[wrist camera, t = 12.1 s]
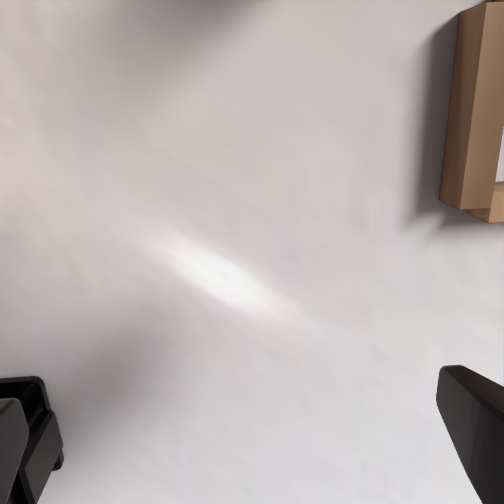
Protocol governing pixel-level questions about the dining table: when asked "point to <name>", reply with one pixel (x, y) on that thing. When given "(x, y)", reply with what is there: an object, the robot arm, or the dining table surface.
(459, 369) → the robot arm
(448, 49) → the dining table surface
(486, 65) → the walnut frame
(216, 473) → the dining table surface
